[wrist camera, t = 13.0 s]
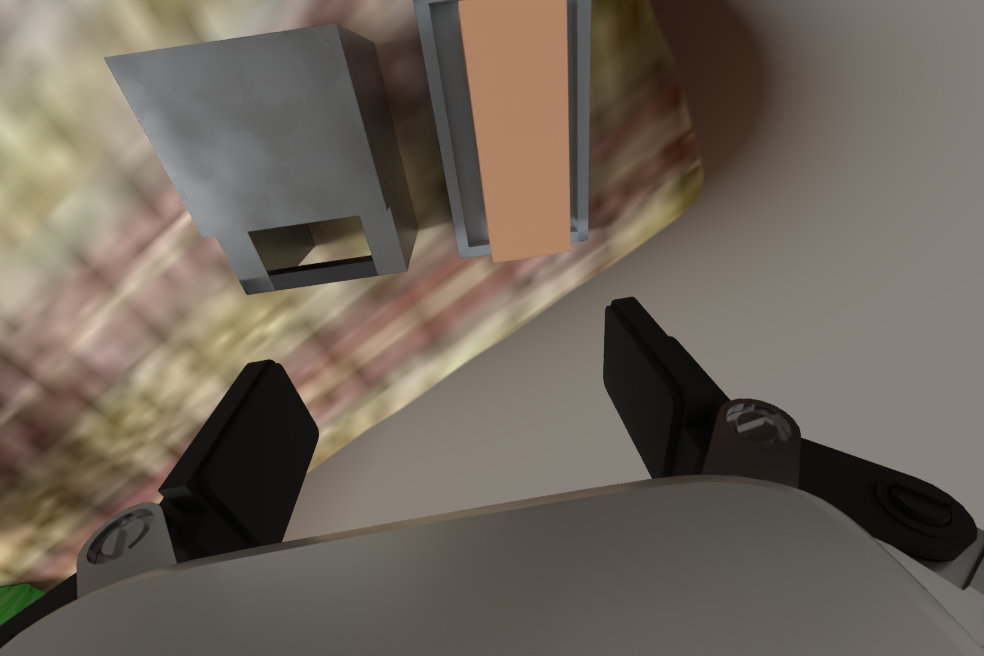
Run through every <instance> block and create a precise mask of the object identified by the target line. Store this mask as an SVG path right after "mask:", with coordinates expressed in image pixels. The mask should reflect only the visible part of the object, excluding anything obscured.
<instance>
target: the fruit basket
mask: <svg viewBox="0 0 984 656" xmlns="http://www.w3.org/2000/svg"><path fill="white" fill-rule="evenodd" d="M45 594H46V593H44V592H42V591H40V590H39V589H37V588H34V587H32V586H31V585H30V584H28V583H24V584H18V585H15V586H6V587H0V625H1V624H3V623H4V622H6V621H7V620H9V619H10V618H12V617H13V616H14V615H16V614H17V613H19V612H20V611H22V610H23V609H24V608H26V607H27V606H29V605H30V604H32V603H33V602H35V601H36V600H37V599H39V598H40V597H42V596H43V595H45Z"/></svg>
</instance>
